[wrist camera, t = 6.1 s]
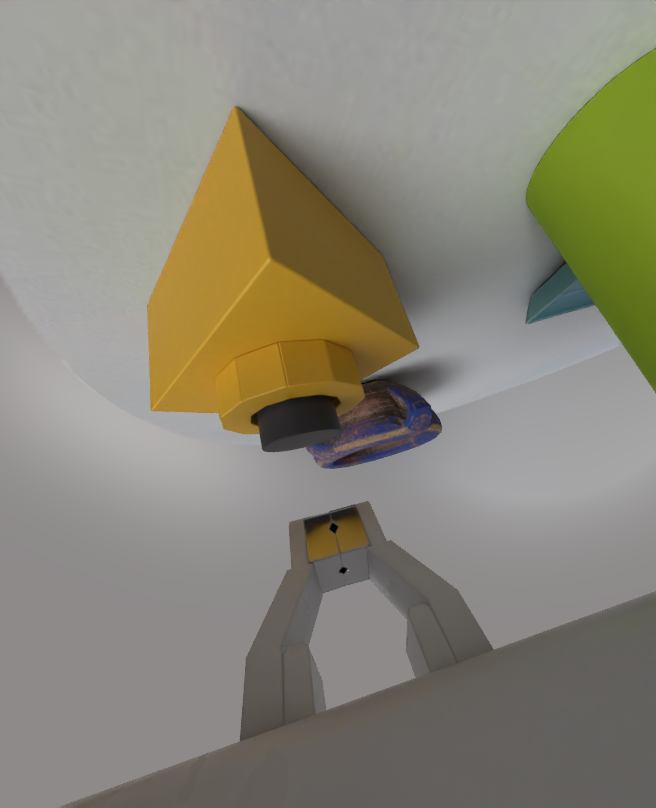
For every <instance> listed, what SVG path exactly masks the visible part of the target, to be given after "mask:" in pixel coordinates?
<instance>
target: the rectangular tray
mask: <svg viewBox="0 0 656 808" xmlns="http://www.w3.org/2000/svg"><path fill="white" fill-rule="evenodd" d="M593 305H595V303H594V302H593V301H592V299H591V298H590V296H589V295H588V293H587V292H586V290H585V289H584V287H583V286H582V284H581V283H580V282H579V280H578V279H577V277H576V276H575V274H574V273H573V271H572V270H571V268H570V267H569V265H568V264H567V263H565V264H564V265H563V266H562V267H561V268H560V269H559V270H558V271H557V272H556V273H555V274H554V275H553V276H552V277H551V278H550V279H549V280H548V281H547V282H545V283H544V284H543V285H542V286H541V287H540V288H539V289H538V290H537V291H536V292H535V293H534V294H533V295H532V297H531V298H530V302H529V306H528V311H527V317H526V324H530V323H533V322H537V321H540V320H543V319H547V318H551V317H554V316H558V315H561V314H564V313H568V312H572V311H575V310H579V309H582V308H586V307H590V306H593Z"/></svg>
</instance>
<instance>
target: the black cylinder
mask: <svg viewBox="0 0 656 808" xmlns="http://www.w3.org/2000/svg"><path fill="white" fill-rule="evenodd" d="M256 415H257V421H258V427H259V433H260V439H261V444H262V449H263V451H266V452H280V451H288V450H293V449H298V448H303V447H307V446H311V445H315V444H318V443H321V442H324V441H327V440H329V439H332V438H334V437H336V436H338V435H339V434H340V433H341V427H340V423H339V419H338V416H337V412H336V408H335V404H334V401H333V397H332V396H328V395H313V396H305V397H297V398H290V399H287V400H284V401H281V402H278V403H274V404H271V405H268V406H265V407H264V408H262V409H261V410H259V411H258V412H256Z"/></svg>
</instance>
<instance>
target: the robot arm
mask: <svg viewBox="0 0 656 808" xmlns="http://www.w3.org/2000/svg"><path fill="white" fill-rule="evenodd" d="M289 536H290V551H291V565H292V566H291V567H292V569H290V570H287V572H286V574H285V576H284V579H283V581H282V583H281V585H280V587H279V589H278V591H277V593H276V595H275V598H274V600H273V602H272V604H271V606H270V608H269V610H268V613H267V615H266V617H265V619H264V621H263V623H262V625H261V628H260V630H259V632H258V634H257V636H256V638H255V640H254V642H253V645H252V647H251V649H250V651H249V653H248V655H247V657H246V667H245V681H244V694H243V707H242V720H241V734H240V742H237V743H235V744H232V745H229V746H226V747H224V748H221V749H218V750H215V751H213V752H210V753H207V754H204V755H202V756H199V757H196V758H193V759H190V760H188V761H185V762H182V763H179V764H176V765H174V766H171V767H168V768H166V769H163V770H160V771H157V772H154V773H152V774H149V775H146V776H143V777H141V778H138V779H135V780H132V781H129V782H127V783H124V784H121V785H118V786H116V787H113V788H110V789H107V790H105V791H102V792H99V793H97V794H94V795H91V796H88V797H85V798H83V799H80V800H77V801H74V802H71V803H69V804H66V805H63V806H60V807H58V808H656V591H655V592H652V593H649V594H647V595H644V596H641V597H639V598H636V599H633V600H630V601H628V602H625V603H622V604H619V605H616V606H613V607H611V608H608V609H605V610H602V611H600V612H597V613H594V614H591V615H589V616H586V617H583V618H580V619H578V620H575V621H572V622H569V623H566V624H564V625H561V626H558V627H555V628H553V629H550V630H547V631H544V632H542V633H539V634H536V635H533V636H531V637H528V638H525V639H522V640H520V641H517V642H514V643H511V644H508V645H506V646H503V647H500V648H497V649H495V650H494V649H493V648H492V646H491V644H490V643H489V641H488V640H487V638H486V636H485V635H484V633H483V631H482V629H481V628H480V626H479V624H478V623H477V621H476V619H475V618H474V616H473V615H472V613H471V611H470V609H469V608H468V606H467V604H466V603H465V601H464V599H463V598H462V596H461V594H460V593H459V591H458V590H457V589H456V588H454V587H453V586H452V585H450V584H449V583H448V582H446V581H445V580H444V579H442V578H441V577H440V576H438V575H437V574H436V573H434V572H433V571H432V570H430V569H429V568H427V567H426V566H425V565H423V564H422V563H421V562H419V561H418V560H417V559H415V558H414V557H413V556H411V555H410V554H409V553H407V552H406V551H405V550H403V549H402V548H401V547H399V546H398V545H397V544H395V543H394V542H393V541H391V540H390V541H386V538H385V536H384V534H383V532H382V529H381V527H380V525H379V523H378V520H377V518H376V516H375V513H374V512H373V509H372V507H371V504H370V503H369V502H368V501H366V502H363V503H359V504H356V505H351V506H347V507H344V508H340V509H337V510H333V511H330V512H328V513H324V514H319V515H315V516H311V517H307V518H303V519H299V520H295V521H292V522H289ZM368 579H370V581H371V582H372V583H373V584H374V585H375V586H376V587H377V588H378V589H379V590H380V591H381V592H382V593H383V594H384V596H385V597H386V598H387V599H388V600H389V601H390V602H391V603H392V604H393V605H394V606H395V607H396V608H397V609H398V610H399V611H400V612H401V614H402V615H403V616H404V617H405V618H406V619H407V641H406V642H407V643H406V652H407V655H408V657H409V660H410V663H411V666H412V669H413V672H414V674H415V677H416V678H414V679H412V680H409V681H407V682H404V683H401V684H398V685H395V686H392V687H390V688H387V689H384V690H381V691H378V692H376V693H373V694H370V695H367V696H365V697H362V698H359V699H357V700H354V701H351V702H348V703H345V704H342V705H340V706H337V707H334V708H331V709H329V710H326V704H325V697H324V691H323V683H322V678H321V676H320V674H319V671H318V669H317V666H316V664H315V661H314V659H313V656H312V654H311V652H310V649H309V647H308V646H309V642H310V639H311V636H312V632H313V628H314V625H315V621H316V618H317V614H318V610H319V607H320V603H321V600H322V596H323V595H322V594H323V593H325V592H328V591H331V590H334V589H337V588H340V587H343V586H346V585H350V584H353V583H357V582H361V581H364V580H368Z"/></svg>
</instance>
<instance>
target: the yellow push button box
mask: <svg viewBox="0 0 656 808" xmlns="http://www.w3.org/2000/svg"><path fill="white" fill-rule="evenodd" d="M147 312H148V340H149V369H150V398H151V411H166V412H197V413H219V417H220V420H221V423H222V425H223V428H224V429H225V430H229V431H233V432H237V433H242V434H260V433H259V427H258V421H257V415H256V412H258V411H259V410H261V409H262V408H264V407H265V406H268V405H271V404H274V403H278V402H281V401H284V400H287V399H290V398H297V397H305V396H313V395H328V396H332V397H333V401H334V404H335V408H336V412H337V416H339V415H341V414H343V413H345V412H347V411H350V410H351V409H353V408H354V407H355V406H356V405H357V404H358V403H360V402H361V401H362V400H363V399H364V398H365V393H364V390H363V387H362V383H361V379H363V378H365V377H367V376H369V375H371V374H372V373H374V372H376V371H378V370H380V369H381V368H383V367H385V366H387V365H389V364H391V363H392V362H394V361H396V360H398V359H400V358H402V357H403V356H405V355H407V354H409V353H411V352H413V351H414V350H416V349H418V348H419V344H418V342H417V339H416V337H415V335H414V332H413V330H412V327H411V325H410V322H409V320H408V317H407V315H406V312H405V310H404V307H403V305H402V303H401V300H400V298H399V295H398V293H397V290H396V288H395V285H394V283H393V280H392V278H391V275H390V273H389V271H388V268H387V266H386V263H385V261H384V258H383V256H382V255H381V254H380V253H379V252H378V251H377V250H376V248H375V247H374V246H373V245H372V244H371V243H370V242H369V241H368V240H367V239H366V238H365V237H364V236H363V235H362V234H361V233H360V232H359V231H358V230H357V229H356V228H355V227H354V226H353V225H352V224H351V223H350V222H349V221H348V220H347V219H346V218H345V217H344V216H343V215H342V214H341V213H340V212H339V211H338V210H337V209H336V208H335V206H334V205H333V204H332V203H331V202H330V201H329V200H328V199H327V198H326V197H325V196H324V195H323V194H322V193H321V192H320V191H319V190H318V189H317V188H316V187H315V186H314V185H313V184H312V183H311V182H310V181H309V180H308V179H307V178H306V177H305V176H304V175H303V174H302V173H301V172H300V171H299V170H298V169H297V168H296V167H295V166H294V164H293V163H292V162H291V161H290V160H289V159H288V158H287V157H286V156H285V155H284V154H283V153H282V152H281V151H280V150H279V149H278V148H277V147H276V146H275V145H274V144H273V143H272V142H271V141H270V140H269V139H268V138H267V137H266V136H265V135H264V134H263V133H262V132H261V131H260V130H259V129H258V128H257V127H256V126H255V125H254V123H253V122H252V121H251V120H250V119H249V118H248V117H247V116H246V115H245V114H244V113H243V112H242V111H241V110H240V109H239V108H238V107H236V106H235V107H234V108H233V110H232V112H231V114H230V117H229V119H228V121H227V124H226V126H225V128H224V131H223V133H222V135H221V137H220V140H219V142H218V144H217V147H216V149H215V151H214V154H213V156H212V158H211V160H210V163H209V165H208V167H207V170H206V172H205V174H204V177H203V179H202V181H201V183H200V186H199V188H198V190H197V193H196V195H195V197H194V200H193V202H192V204H191V206H190V209H189V211H188V213H187V216H186V218H185V220H184V223H183V225H182V227H181V229H180V232H179V234H178V236H177V239H176V241H175V243H174V246H173V248H172V250H171V253H170V255H169V257H168V259H167V262H166V264H165V266H164V269H163V271H162V273H161V276H160V278H159V280H158V282H157V285H156V287H155V289H154V292H153V294H152V296H151V299H150V301H149V303H148V305H147Z"/></svg>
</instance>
